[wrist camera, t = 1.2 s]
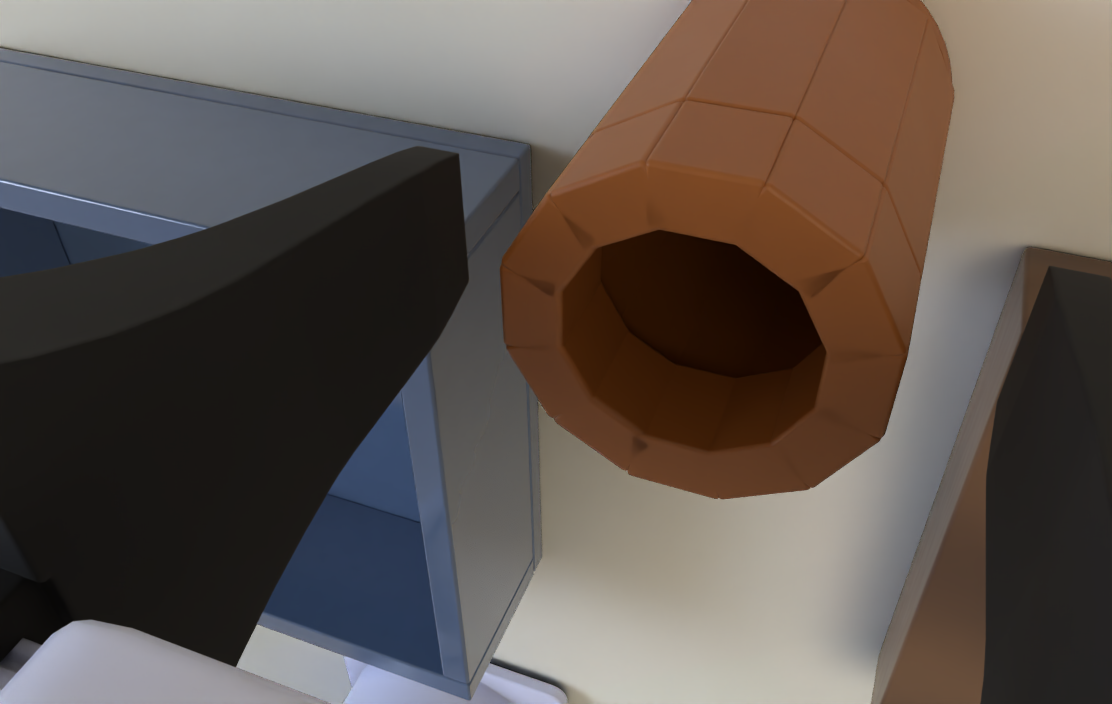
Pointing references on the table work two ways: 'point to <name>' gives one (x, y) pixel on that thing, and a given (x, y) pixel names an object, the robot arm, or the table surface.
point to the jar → (740, 246)
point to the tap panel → (961, 531)
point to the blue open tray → (413, 416)
